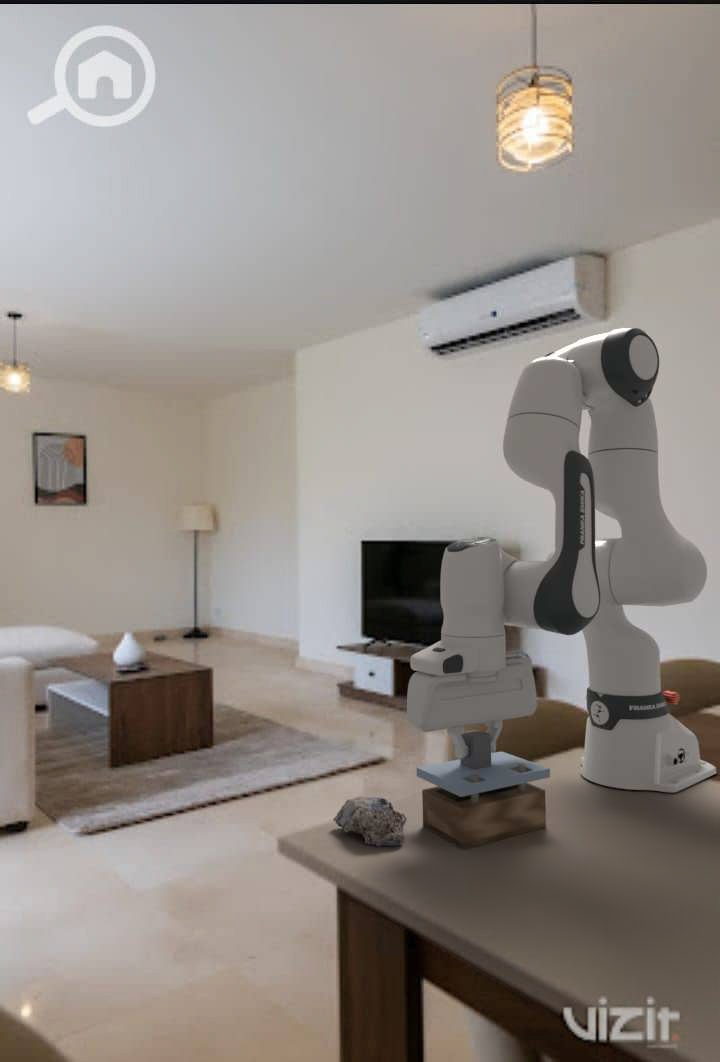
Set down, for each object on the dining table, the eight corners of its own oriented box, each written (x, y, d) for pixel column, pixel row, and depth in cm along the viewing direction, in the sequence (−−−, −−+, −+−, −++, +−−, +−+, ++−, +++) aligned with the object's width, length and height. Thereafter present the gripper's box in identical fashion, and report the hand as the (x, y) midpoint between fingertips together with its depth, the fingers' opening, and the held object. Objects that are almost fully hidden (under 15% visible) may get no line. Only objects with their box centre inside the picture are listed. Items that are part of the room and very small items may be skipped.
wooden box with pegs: (502, 807, 109) (501, 748, 109) (546, 826, 101) (544, 763, 101) (423, 826, 102) (421, 764, 102) (462, 849, 94) (461, 781, 94)
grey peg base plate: (501, 759, 109) (501, 721, 110) (550, 777, 101) (549, 735, 101) (416, 776, 102) (415, 735, 102) (460, 796, 93) (459, 752, 93)
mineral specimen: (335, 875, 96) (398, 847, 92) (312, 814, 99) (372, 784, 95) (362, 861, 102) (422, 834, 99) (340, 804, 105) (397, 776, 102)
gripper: (516, 646, 111) (517, 739, 111) (399, 658, 101) (401, 760, 101) (545, 651, 105) (547, 749, 105) (426, 664, 95) (428, 772, 95)
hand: (475, 755), depth 103 cm, fingers closed on grey peg base plate, 3 cm apart
